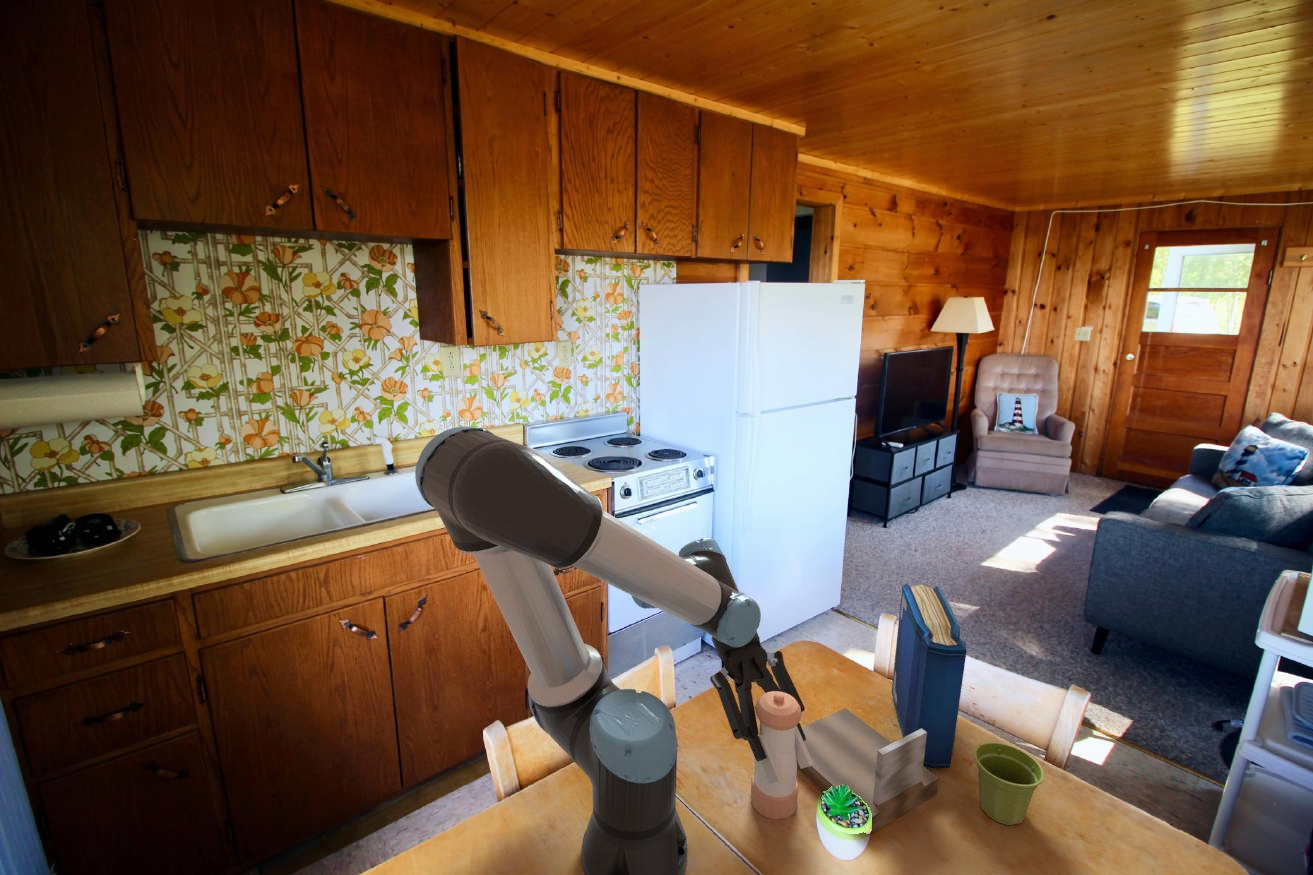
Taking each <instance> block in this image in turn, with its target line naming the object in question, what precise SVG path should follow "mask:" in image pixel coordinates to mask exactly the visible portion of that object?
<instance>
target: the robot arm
mask: <svg viewBox="0 0 1313 875" xmlns="http://www.w3.org/2000/svg"><path fill="white" fill-rule="evenodd" d="M414 474H415V476H414V478H415V483H416V487H417V489H418V491H419V493H420V496H421V497H422V500H424V501H425V502H426V504H427V505H429V506H430V507H432V508H434V509H435V510H436V512H437V513H438V516H439V519H440V520H441V521H442V524H443V526H444V527H445V529H446V531H447V533H448V535H449V537H450V539H451V542H452V543H453V545H454V547H455V549H456V550H457V551H459V552H461V553H464V554H470V555H473V557H474V559H475V560H474V561H476V564H477V565H478V568H479V570H480V571H481V574H482V576H483V577H484V578H483V579H484V580H485V582H486V585H487V586H488V588H489V590H490V592H491V594H492V596H493V598H494V600H495V602H496V604H497V607H498V608H499V610H500V613H501V614H502V616H503V618H504V621H505V623H506V626H507V627H508V628H509V631H510V633H511V635H512V637H513V639H514V641H515V643H516V645H517V647H518V649H519V652H520V654H521V655H522V656H521V657H522V658H523V660H524V661H525V663H526V666H527V667H528V670H529V671H530V673H529V676H528V680H527V691H528V706H529V709H530V712H531V714H532V716H533V718H534V719H535V721H536V723H537V725H539V726H538V727H539V728H541V729H542V730H543V731H544V732H545V734H547V735H549V737H551V739H552V740H553V741H554V742H555V743H557V745H558V746H559V747H560V748H561V749H562V750H563V751H564V752H565V753H566V754H567V755H568V757H570V759H572V761H573V763H575V764H576V765H577V766H578V767H579V768H580V770H582V772H584V774H585V775H586V776H587V777H588V778H589V780H590V782H591V786H592V812H591V815H590V817H589V820H588V823H587V827H586V829H585V832H584V835H583V837H582V843H581V867H582V872H583V875H685V872H686V870H687V866H688V840H687V835H686V830H685V828H684V826H683V823H682V820H681V818H680V815H679V812H678V809H677V806H676V805H677V804H676V801H677V799H676V798H677V794H676V793H677V769H678V768H677V763H678V746H679V744H678V737H677V730H676V722H675V719H674V716H673V714H672V712H671V710H670V709H669V707H668V706H667V705H666V703H665V702H664V701H663V700H661V699H660V698H659V697H657V696H656V695H653V694H652V693H650V692H647V691H644V690H642V691H641V692H637V689H635V688H624V689H621V688H620V687H618V686H617V685H616V684H615V683H614V682H613V680H612V679H611V678H610V676H609V672H608V671H607V669H606V666H605V663H604V662H603V659H602V657H601V655H600V654H601V653H599V651H598V650H597V648H594V647H593V646H592V645H590V644H588V643H584V640H583V638H582V636H581V633H580V631H579V628H578V627H577V624H576V622H575V620H574V617H573V615H572V613H571V610H570V608H569V606H568V603H567V600H566V599H565V596H564V594H563V592H562V589H561V587H560V585H559V582H558V579H557V577H556V575H555V573H554V570H553V569H552V567H553V568H556V569H561V570H563V569H569V568H571V567H574V568H575V569H578V570H580V571H581V572H584V573H586V574H588V575H590V576H592V577H594V578H596V579H598V580H600V581H602V582H604V583H606V584H608V585H610V586H613V587H614V588H616V589H618V590H620V591H623V592H624V593H626V594H629V595H630V596H631V598H632V600H633V602H634V603H635V604H636V605H637V606H638V607H640V608H641V609H659V610H661V611H663V612H665V613H667V614H669V615H670V616H673V617H675V618H677V619H679V620H681V621H683V622H685V623H686V624H689V625H691V627H694V628H696V629H698V630H700V631H701V632H702V631H703V632H704V633H706V634H708V635H710V636H711V642H712V643H713V646H714V649H715V651H716V654H717V656H718V657H719V658H720V662H721V665H720V666H721V667H720V668H721V669H720V670H719V671H717V672H716V673H714V674H713V675H710V678H709V680H710V682H711V684H712V685H713V687H714V688H715V689H716V691H717V692H718V696H719V699H720V701H721V704H722V707H723V710H724V712H725V716H726V718H727V721H728V722H727V723H728V724H729V727H730V730H731V733H732V735H733V737H734V739H736V740H739V739H741V740H743V741H747V742H748V744H749V747H750V749H751V752H752V754H753V757H754V759H756V760H757V762H758V761H761V763H762V765H763V768H764V770H765V773H766V775H767V778H768V780H769V783H770V784H771V783H775V782H779V781H781V780H783V779H782V777H781V774H780V772H779V769H778V767H777V764H776V762H775V759H774V757H773V755H772V752H771V750H770V747H769V745H768V742H767V740H766V737H765V735H764V734H763V735H760V736H759V727H758V723H757V715H756V711H755V704H754V698H753V694H752V689H753V685H752V683H756V685H757V686H758V687H760V688H761V689H762V690H763V693H764V694H765V693H767V692H772V691H780V692H784V693H787V694H789V695H791V696H792V697H793V698H795V700H796V701H797V702H798V704H799V705H800V708H801V713H803V712H805V709H806V707H805V705H804V703H803V701H802V699H801V696H800V695H799V692H798V690H797V689H796V686H795V684H794V682H793V680H792V678H791V675H790V674H789V671H788V669H787V668H786V665H785V660H784V656H783V652H782V651H780V650H777V651H775V652H767V650H766V649H764V647H763V646H762V644H761V639H760V636H759V634H758V629H759V627H760V623H761V618H762V617H761V616H762V614H761V613H762V612H761V608H760V606H759V604H758V602H757V601H756V600H755V599H754V598H751V597H750V596H748V595H746V593H744V592H741V591H739V588H738V586H737V584H736V581H735V579H734V577H733V574H732V572H731V569H730V567H729V565H728V561H727V558H726V556H725V555H724V553H723V551H722V549H721V547H720V546H719V544H718V542H717V540H715V539H714V538H712V537H703V538H702V537H701V538H700V539H695V540H693V541H691V542H688V543H687V544H685V545H683V547H681V548H680V549H679V551H678V555H677V553H675V552H672V551H671V550H670V549H668V548H666V547H664V546H663V545H661V544H659V543H658V542H656V541H655V540H654V539H652V538H650V537H648V536H647V535H645V534H643V533H641V532H639V531H638V530H637V529H635V528H634V527H632V526H630V525H628V524H627V523H625V522H624V521H622V520H620V519H618V518H617V517H616V516H613V515H612V514H610V513H608V511H605V510H604V507H603V504H602V501H601V500H600V498H599V497H598V496H597V495H595V494H594V493H592V492H591V491H589V490H587V489H586V488H584V487H583V486H582V485H580V484H579V483H577V482H576V481H575V480H573V479H572V478H571V477H570V476H568V475H567V474H565V473H564V472H562V471H561V470H560V469H558V468H557V467H556V466H555V465H554V464H553V463H551V462H549V460H547V459H546V458H545V457H544V456H542V455H540V454H539V453H538V452H536V451H535V450H534V449H531V448H529V447H528V446H526V445H523V444H520V443H517V442H514V441H512V440H509V439H507V438H505V437H504V438H503V437H501V436H498V435H496V434H494V433H493V432H491V431H489V430H487V429H485V428H482V427H472V426H457V427H456V426H455V427H452V428H449V429H446V430H444V431H442V432H440V433H439V434H437V435H435V436H434V437H433V438H431V439H430V441H428V442H427V443H426V445H425V446H424V447H423V449H422V451H421V453H420V455H419V456H418V460H417V462H416V465H415V470H414ZM767 666H769V667H770V670H771V672H770V670H769V669H768V667H767ZM729 678H730V679H731V680H733V682H734V684H733V685H734V689H735V692H736V694H737V699H736V697H735V693H734V691H733V688H732V686H731V684H730V682H729V680H730V679H729ZM774 679H775V680H774ZM737 700H738V701H737ZM738 704H739V705H738ZM802 727H803V726H801V723H800V722H799V723H798V724H797V725H796V729H795V752H796V759H797V762H798V764H799V766H800V769H802V768H806V767H809V766H812V765H814V764H813V762H812V760H811V757H810V755H809V753H808V750H807V748H806V746H805V744H804V741H805V740H806V737H805V734H804V732H803V730H802Z"/></svg>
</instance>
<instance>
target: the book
mask: <svg viewBox="0 0 1313 875" xmlns="http://www.w3.org/2000/svg"><path fill="white" fill-rule="evenodd" d="M898 617H899V618H898V626H897V635H896V644H895V645H896V646H895V655H894V665H893V666H894V667H893V672H892V674H893V676H892V684H891V685H892V686H891V694H892V698H893V699H892V700H893V703H894V707H895V711H896V716H897V720H898V723H899V727H900V730H901V734H902V738H904V737H906V736H907V735H909V734H911V733H913V732H915V731H917V730H919V729H921V728H922V729H923V730H925V731H926V732H927V737H926V746H925V755H924V763H923V766H924V767H925V768H927V769H928V768H929V769H932V770H934V769H951V765H952V759H953V751H954V745H955V737H956V732H957V731H956V730H957V722H958V716H959V715H958V714H959V709H960V702H961V693H962V687H963V686H962V685H963V679H964V672H965V664H966V660H967V659H966V658H967V651H968V650H967V646H966V642H964V640H963V639H961V637H960V636H961V634H960V633H961V630H960V629H961V627H960V625H959V622H958V620H957V617H956V615H955V613H954V611H953V609H952V607H951V605H950V603H949V601H948V599H947V598H946V595H945V594H944V592H943V590H942V589H941V588H940V587H938V585H936V586H935V587H934V588H931V587H929V586H925V585H923V584H920V585H919V584H918V585H914V586H910V585H909V584H908V583H905V584H904V585H902V587H901V595H900V606H899V615H898Z"/></svg>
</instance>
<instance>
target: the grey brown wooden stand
mask: <svg viewBox="0 0 1313 875" xmlns="http://www.w3.org/2000/svg"><path fill="white" fill-rule="evenodd" d="M801 727H802V730H803V732H804V734H805V737H806V740H805V741H804V744H805V746H806V748H807V750H808V753H809V755H810V757H811V760H812V762H813V764H814V765H812V766H809V767H806V768H802V769H800V766H799V764H798V762H797V771H799V772H800V773H801V774H802V775H804V776H805V778H806V779H808V780H809V782H810V783H811V784H813V785H814V786H815V787H816V788H817V789H818V790H819V791H820V792H821V793H822V792H823V791H826V790H828V789H829V788H830V787H831V786H838V785H842V784H844V785H848V786H849V788H850V790H851V791H853V793H855V794H856V795H858V796H860V797H861V798H862V800H863V801H864V802H865V803H867V805H868V807H870V810H871V813H872V831H871V834H872V833H874V832H876V831H878V830H880V829H881V828H883V827H884V826H886V825H887V824H889V823H891V822H893V821H894V820H896V819H898V818H899V817H901V816H903V815H905V814H907V813H908V812H910V811H912V810H913V809H915V808H917V807H918V806H920V805H921V804H923V803H925V802H927V801H929V800H930V799H931V798H933V797H935V796H936V795H938V792H939V791H938V790H939V784H940V783H939V782H940V777H939V776H937V775H936V774H934V773H933V772H931V771H930V770H929V769H928V768H927V767H925V766H923V763H924V755H925V746H926V737H927V732H926V731H925V730H923V729H922V728H921V729H919V730H917V731H915V732H913V733H911V734H909V735H907V736H906V737H901V738H900V739H898V740H896V741H894V742H892V741H891V740H889V739H887V738H886V737H885V736H884V735H882V734H881V733H879V732H878V731H877V730H875V729H874V728H873V727H871V726H870V725H869V724H868V723H866V722H865V721H863V720H862V719H861V718H859V717H858V716H857V715H856V714H854V713H853V712H851V711H850V710H849V709H848V708H846V707H844V708H842V709H840V710H838V711H836V712H833V713H831V714H829V715H826V716H824V717H823V718H822V717H821V718H820V719H818V720H816V721H813V722H811V723H807V724H806V725H803V726H801ZM796 760H797V759H796Z"/></svg>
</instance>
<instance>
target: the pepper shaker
mask: <svg viewBox="0 0 1313 875" xmlns="http://www.w3.org/2000/svg"><path fill="white" fill-rule="evenodd" d="M754 709H755V715H756V718H757V719H758V720H759V727H758V733H759V734H758V736H760V735H763V734H764V735H765V737H766V740H767V742H768V745H769V747H770V750H771V752H772V755H773V757H774V759H775V762H776V764H777V767H778V769H779V772H780V774H781V777H782V779H783V780H781V781H779V782H775V783H771V784H770V783H769V780H768V778H767V775H766V773H765V770H764V768H763V765H762V763H761V761H758V762H757V760H756V759H755V758H753V759H754V760H753V761H754V762H753V767H754V768H753V769H754V770H753V773H752V777H751V781H750V782H751V785H750V787H751V788H750V800H751V801H750V802H751V805H752V806H753V808H754V809H755V810H756V811H757V813H759V814H760V815H762V816H763V817H766V818H770V819H773V820H782V819H787V818H789V817H791V816H793V814H794V813H795V812H796V810H797V807H798V795H799V794H798V793H799V785H798V784H799V783H798V781H797V776H798V775H797V773H798V769H797V760H796V752H795V729H796V725H797V724H798V723H800V721H801V719H802V717H803V716H802V715H803V714H802V713H803V712H802V713H801V708H800V705H799V704H798V702H797V701H796V700H795V698H793V697H792V696H791V695H789V694H787V693H784V692H780V691H772V692H767V693H765V692H764V693H763V694H762V695H761V696H760V697H759V698H758V699H757V701H756V703H755V705H754Z"/></svg>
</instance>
